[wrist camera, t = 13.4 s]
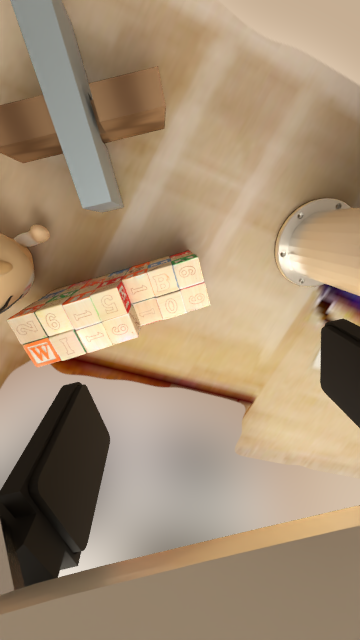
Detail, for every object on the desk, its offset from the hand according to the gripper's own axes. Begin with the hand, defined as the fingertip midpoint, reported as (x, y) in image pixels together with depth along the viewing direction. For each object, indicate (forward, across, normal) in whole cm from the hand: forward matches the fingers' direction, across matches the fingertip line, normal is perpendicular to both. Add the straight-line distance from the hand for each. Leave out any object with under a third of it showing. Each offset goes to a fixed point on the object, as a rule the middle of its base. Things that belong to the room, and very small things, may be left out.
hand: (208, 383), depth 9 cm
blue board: (+28, +6, -18) cm, 34 cm away
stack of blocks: (+29, +7, +2) cm, 30 cm away
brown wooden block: (+28, +6, -18) cm, 34 cm away
